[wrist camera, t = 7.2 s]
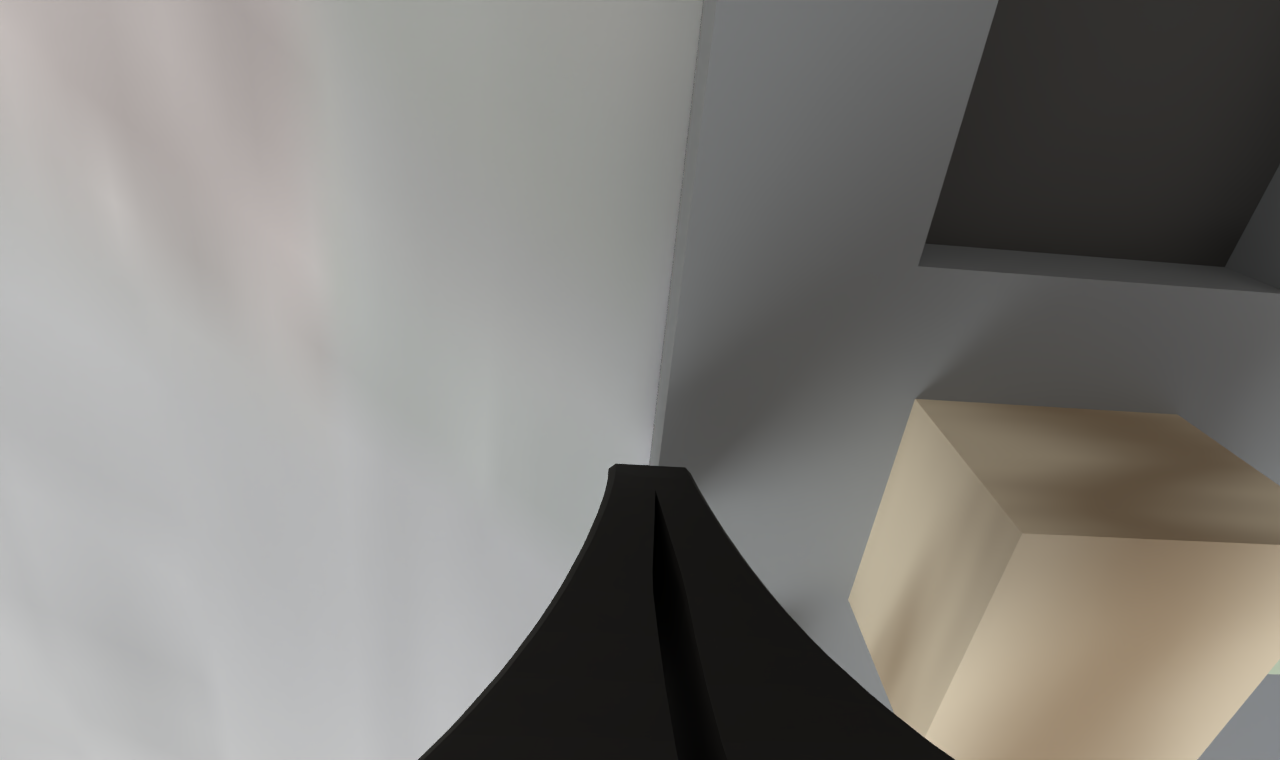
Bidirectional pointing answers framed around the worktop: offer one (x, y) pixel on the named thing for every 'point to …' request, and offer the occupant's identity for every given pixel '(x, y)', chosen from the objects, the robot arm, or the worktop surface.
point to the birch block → (1069, 583)
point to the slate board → (963, 256)
